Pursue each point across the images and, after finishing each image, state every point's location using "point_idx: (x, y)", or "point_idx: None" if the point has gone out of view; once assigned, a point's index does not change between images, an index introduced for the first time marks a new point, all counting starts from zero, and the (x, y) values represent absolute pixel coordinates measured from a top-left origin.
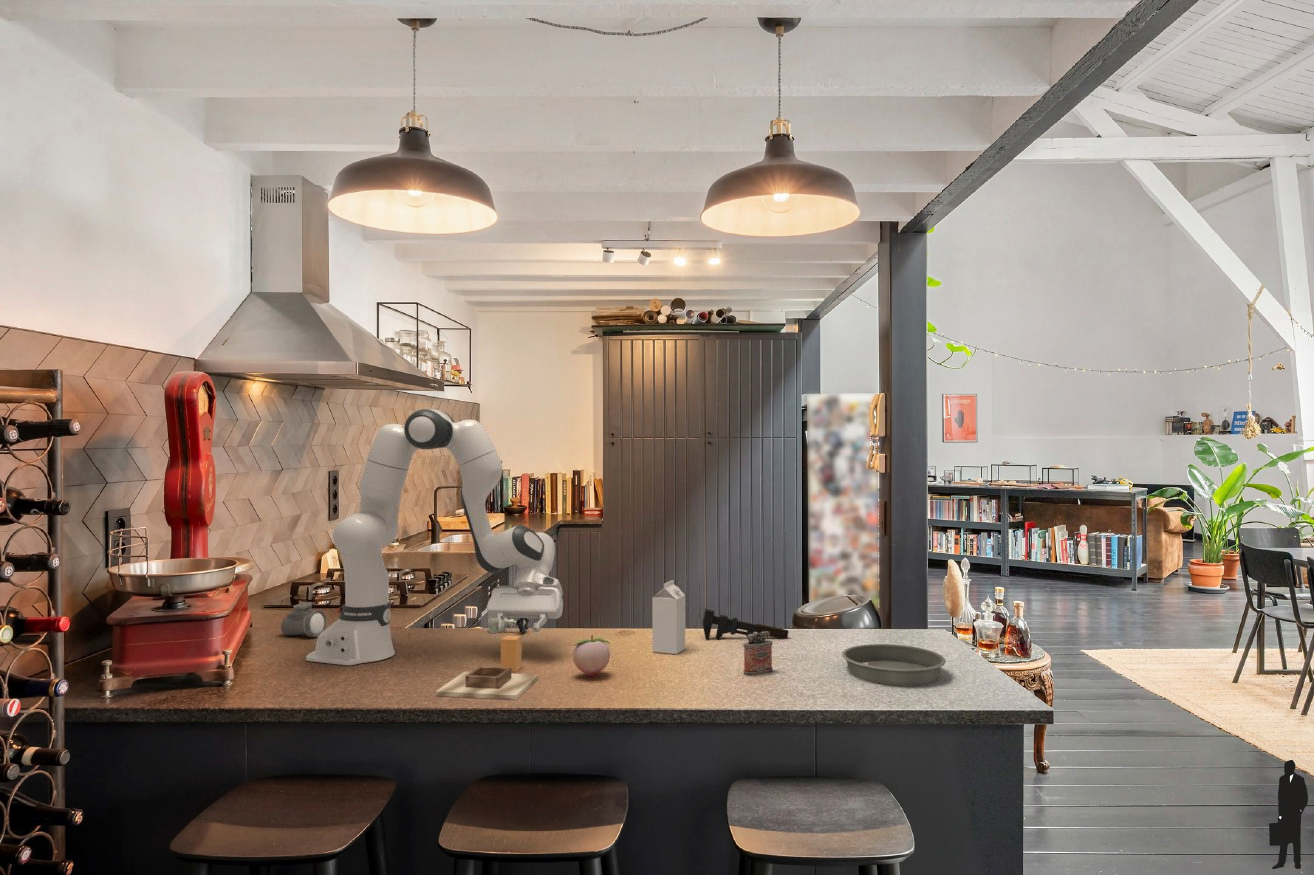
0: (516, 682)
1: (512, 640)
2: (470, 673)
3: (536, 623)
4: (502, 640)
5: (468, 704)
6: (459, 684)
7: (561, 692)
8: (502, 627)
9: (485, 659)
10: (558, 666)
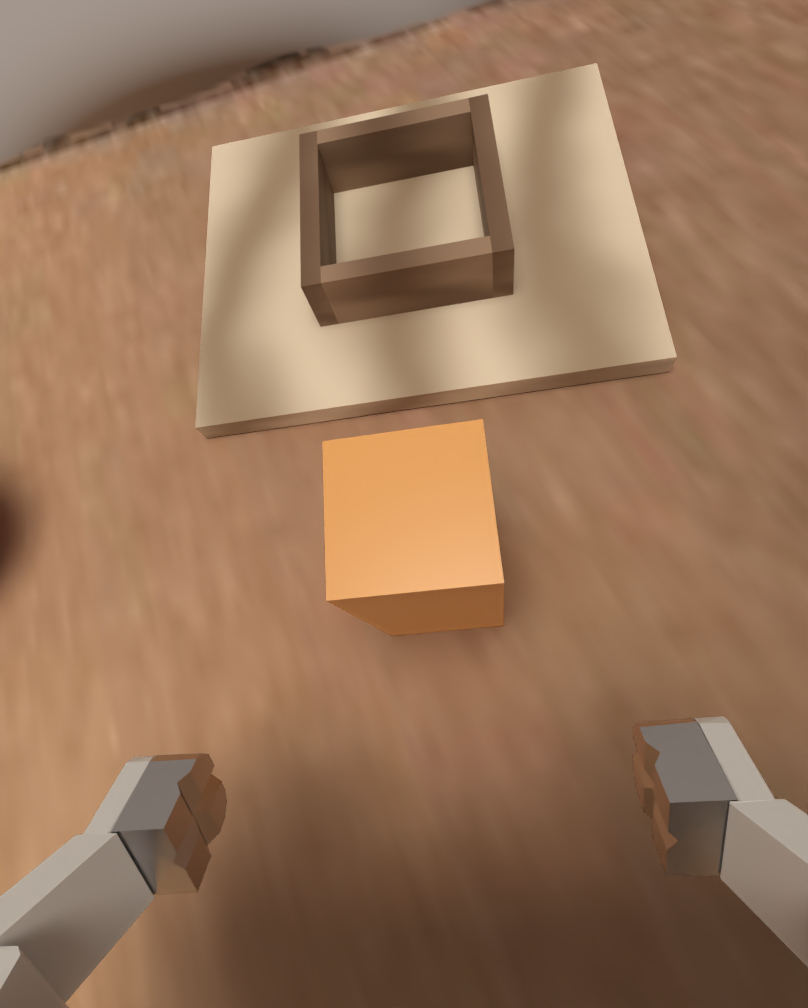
0: (269, 279)
1: (361, 440)
2: (487, 133)
3: (132, 821)
4: (465, 427)
5: (389, 68)
6: (545, 167)
7: (59, 295)
8: (654, 724)
9: (804, 805)
10: (151, 722)
